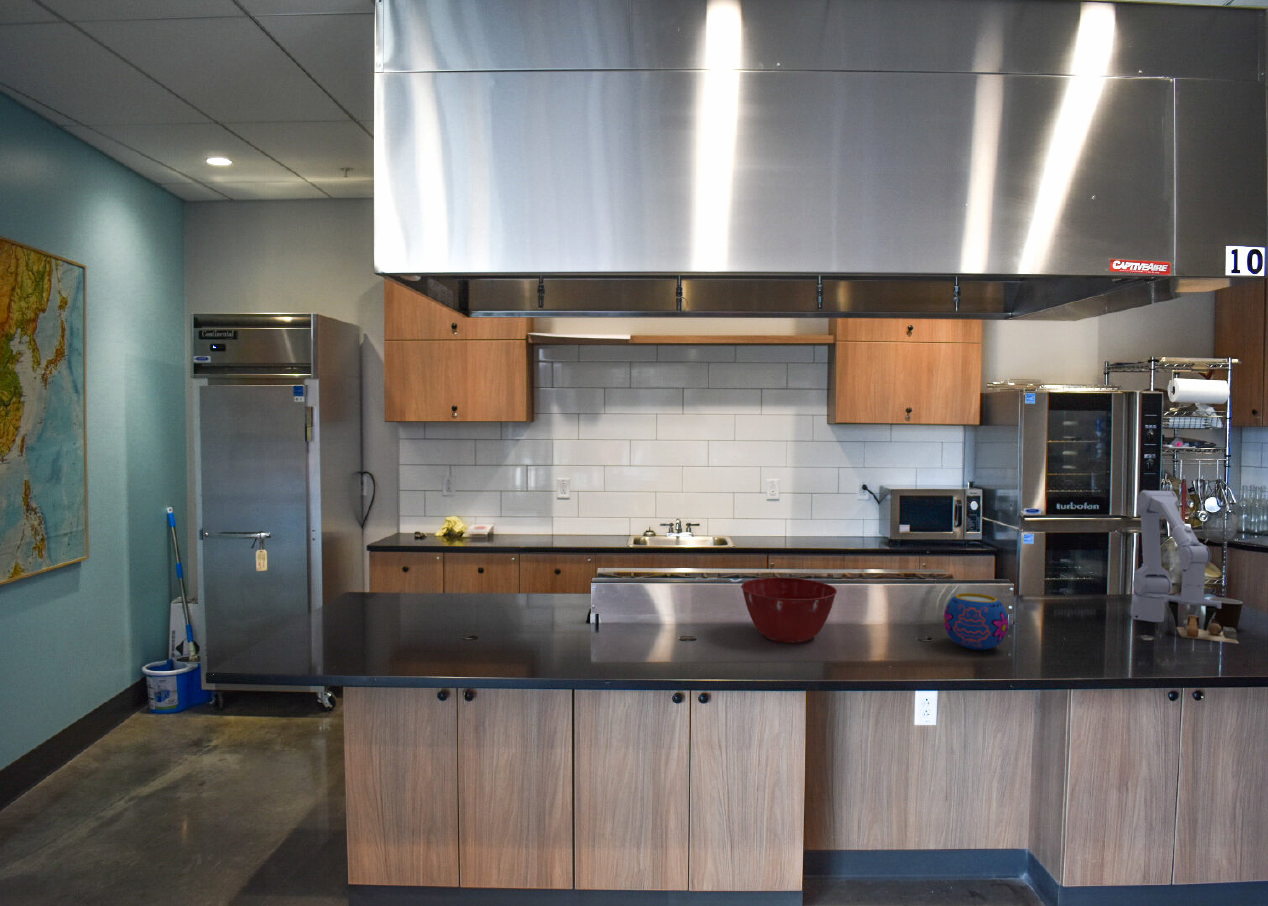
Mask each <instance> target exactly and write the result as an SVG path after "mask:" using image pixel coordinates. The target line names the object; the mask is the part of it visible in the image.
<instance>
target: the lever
mask: <svg viewBox="0 0 1268 906" xmlns="http://www.w3.org/2000/svg"><path fill="white" fill-rule="evenodd" d="M1183 624H1187V627H1186V628H1187V635H1188V636H1192V637H1198V633H1199V629H1200V627H1199V626H1200V616H1198V615H1194V614H1193V615H1192V614H1187V619H1184V620H1183Z"/></svg>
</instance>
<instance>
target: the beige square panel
mask: <svg viewBox="0 0 1268 906" xmlns="http://www.w3.org/2000/svg"><path fill="white" fill-rule="evenodd" d="M1186 627H1187V624H1185V625H1184V627H1182V626H1178V627H1176V629H1177V632H1178V633H1179V635H1180V637H1181V638H1189V639H1198V640H1205V641H1206V640H1207V641H1213V642H1214V641H1215V642H1223V643H1232V644H1240V643H1239V641H1238V640H1237V631H1238V630H1237V631H1236V630H1235V629H1234V628H1230V627H1223V630H1222V632H1221V633H1220V634H1218V635H1213V634H1211V633H1210V632H1209V631H1208V629H1207V631H1204V629H1202V628H1199V633H1198V637H1192V636H1188V635H1187V628H1186Z"/></svg>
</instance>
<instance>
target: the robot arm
mask: <svg viewBox="0 0 1268 906" xmlns="http://www.w3.org/2000/svg"><path fill="white" fill-rule="evenodd" d="M1136 504H1137V505H1136V506H1137V514H1138V515H1139V516H1140V525H1141V527H1140V528H1141V546H1142V564H1143V565H1142V566H1140V567H1139V568H1138V569H1136V570H1135V571H1134V576H1133V577H1134V579H1133V582H1132V584H1133V586H1132V587H1133V589H1134V591H1135V593H1132V594H1131V595H1132V596H1131V610H1130V611H1129V612H1130V616H1131V619H1132V620H1136V621H1144V622H1145V621H1146V622H1149V623H1150V622H1151V623H1163V622H1164V620H1165V619H1164V618H1165V603H1168V607H1169V608H1170V611H1171V613H1172V616H1173V619H1174V627H1175V628H1177V627H1179V604H1181V605H1190V606H1200V607H1205V609H1204V610H1205V611H1204V613H1205V614H1204V623H1203V630H1204V631H1207V630H1208V626H1209V625H1210V624H1209V623H1210V621H1211V618H1212V616H1213V614H1214V613H1215V611H1216V608H1219V609H1221V601H1215V600H1209V599H1210V598H1204V597H1205V582H1206V581H1205V578H1206V577H1205V576H1206V565H1208V564H1209V562H1210V561H1211V552H1210V549H1209V547H1208V546H1207V545H1206V544H1203V542H1200V541H1199V539H1198V538H1197V536H1196V534H1195V532H1194V531H1193V528H1191V527H1190V526H1188V525H1186V524H1185V522H1184V521H1183V518H1182V516H1181V513H1180V511H1179V509H1178V505H1179V499H1178V496H1177V493H1175V491H1173V490H1147V489H1143V490H1141V491H1140V493H1139V494H1138V495H1137V497H1136ZM1162 517H1163V518H1164V519H1165V521H1166V522H1167V524H1168V525H1169V526H1170V528H1171V529H1172V531H1171V534H1170V535H1171V538H1172V539H1173V541H1174V542H1175V545H1176V546H1177V548H1178V549H1179V550H1178V551H1179V552H1178V559H1179V561H1180V568H1181V569H1182V570H1181V572H1182V573H1181V590H1180V591H1181V592H1180V595H1170V594H1171V592H1172V590H1173V583H1172V579H1171V577H1170V575H1171V574H1170V572H1169V571H1168V570H1167V569H1166V568H1164V567H1162V551H1161V549H1162V548H1161V532H1160V519H1161V518H1162Z"/></svg>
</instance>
